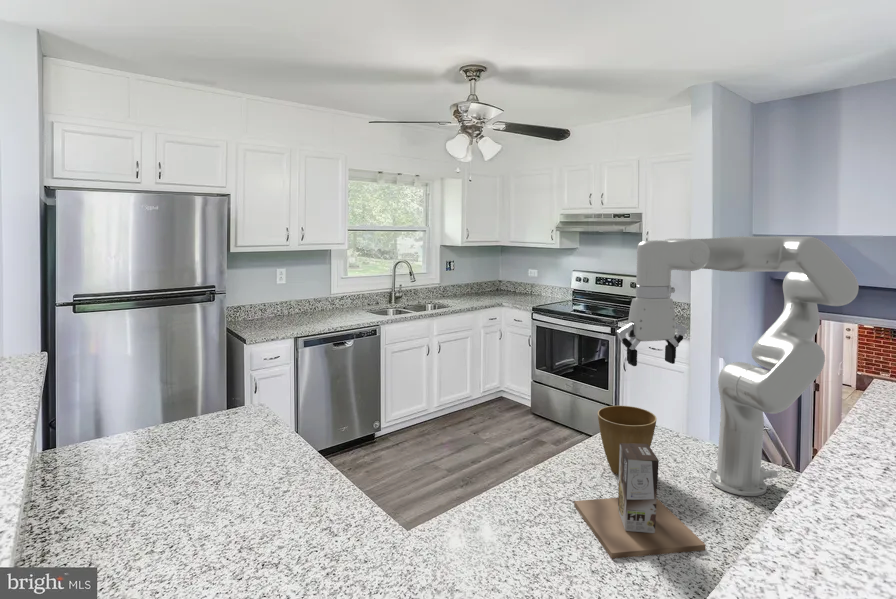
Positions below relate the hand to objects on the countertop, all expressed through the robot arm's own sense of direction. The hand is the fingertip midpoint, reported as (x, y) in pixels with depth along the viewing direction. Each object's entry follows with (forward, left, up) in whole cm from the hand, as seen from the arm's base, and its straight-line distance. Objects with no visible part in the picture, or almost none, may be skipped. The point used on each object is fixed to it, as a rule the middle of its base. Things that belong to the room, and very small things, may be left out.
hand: (651, 363), depth 121 cm
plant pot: (0, -12, -33) cm, 35 cm away
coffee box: (+10, +13, -32) cm, 36 cm away
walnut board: (+10, +13, -33) cm, 37 cm away
